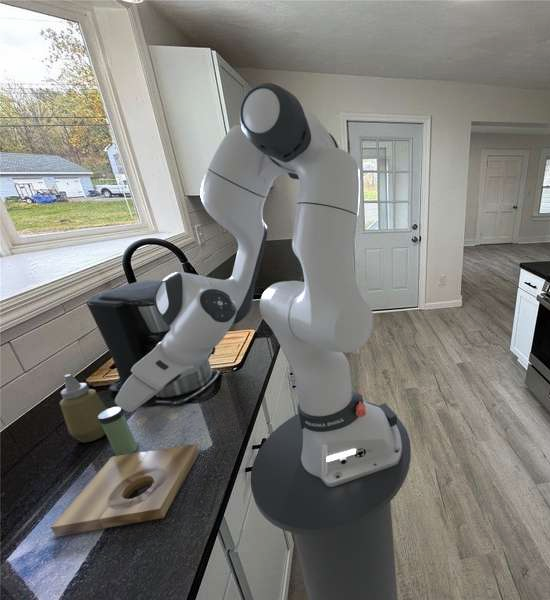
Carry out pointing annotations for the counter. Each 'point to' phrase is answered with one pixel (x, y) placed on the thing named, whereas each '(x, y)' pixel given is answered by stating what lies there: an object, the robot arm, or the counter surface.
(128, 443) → the green cylinder
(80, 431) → the squeeze bottle
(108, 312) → the coffee maker
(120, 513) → the wooden board with hole
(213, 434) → the counter surface
